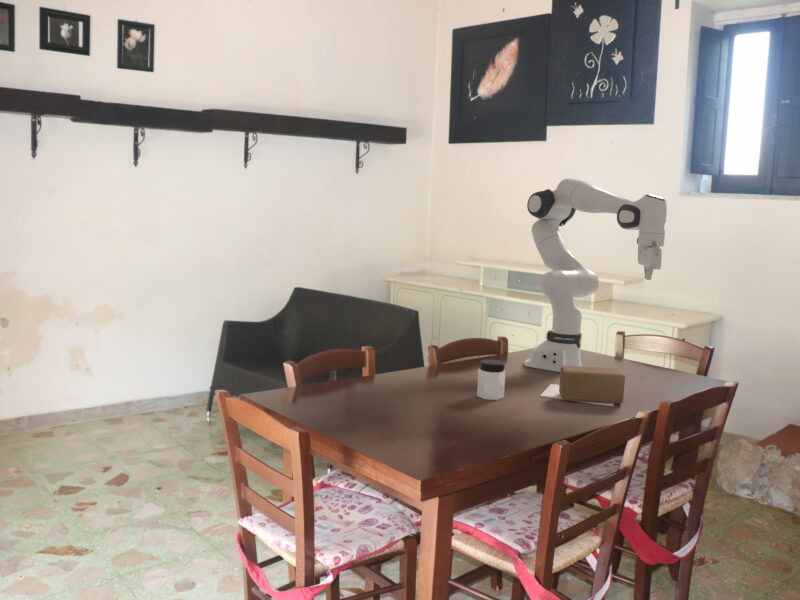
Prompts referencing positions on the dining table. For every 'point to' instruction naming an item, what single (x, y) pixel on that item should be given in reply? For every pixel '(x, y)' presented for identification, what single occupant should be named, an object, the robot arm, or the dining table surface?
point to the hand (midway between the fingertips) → (647, 279)
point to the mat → (554, 393)
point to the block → (591, 384)
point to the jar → (491, 379)
